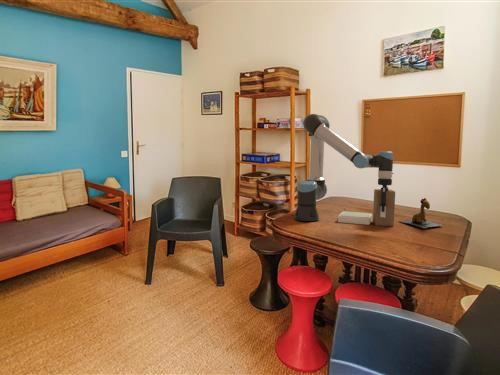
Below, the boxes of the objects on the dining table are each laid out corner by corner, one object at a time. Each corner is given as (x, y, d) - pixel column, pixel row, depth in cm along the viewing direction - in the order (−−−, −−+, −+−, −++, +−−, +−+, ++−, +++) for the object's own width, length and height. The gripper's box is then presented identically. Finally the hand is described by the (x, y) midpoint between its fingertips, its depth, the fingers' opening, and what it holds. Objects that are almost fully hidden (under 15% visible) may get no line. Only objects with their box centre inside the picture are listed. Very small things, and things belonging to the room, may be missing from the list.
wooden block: (393, 226, 193) (395, 191, 191) (375, 225, 195) (376, 190, 193) (390, 222, 203) (391, 189, 201) (372, 222, 205) (374, 189, 202)
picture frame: (337, 222, 203) (338, 215, 203) (342, 217, 220) (342, 210, 219) (369, 224, 196) (369, 218, 196) (372, 219, 212) (372, 213, 212)
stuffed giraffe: (422, 228, 189) (424, 200, 188) (397, 222, 206) (399, 196, 204) (443, 226, 195) (444, 198, 194) (417, 220, 212) (418, 195, 210)
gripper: (391, 179, 184) (389, 219, 186) (392, 177, 205) (391, 212, 207) (376, 179, 187) (374, 218, 189) (379, 176, 208) (377, 212, 210)
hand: (383, 215), depth 198 cm, fingers closed on wooden block, 11 cm apart
